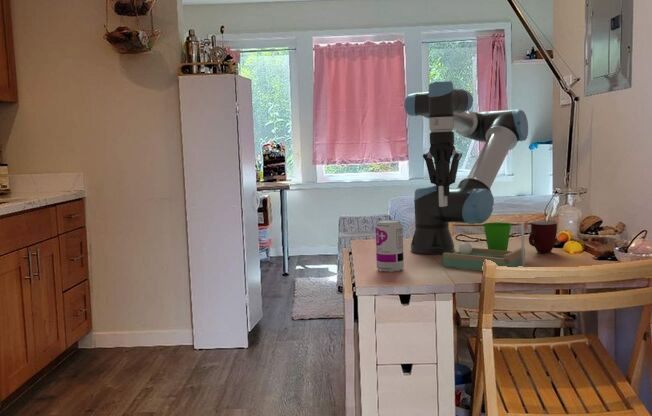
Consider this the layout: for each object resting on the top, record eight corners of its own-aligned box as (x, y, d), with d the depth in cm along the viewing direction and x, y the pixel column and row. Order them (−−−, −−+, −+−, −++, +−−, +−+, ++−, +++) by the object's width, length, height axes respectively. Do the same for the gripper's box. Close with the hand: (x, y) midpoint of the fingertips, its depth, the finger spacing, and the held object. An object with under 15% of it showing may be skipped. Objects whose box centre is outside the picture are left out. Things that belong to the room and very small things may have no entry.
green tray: (443, 266, 183) (442, 249, 183) (462, 259, 192) (461, 243, 191) (507, 273, 169) (507, 255, 169) (525, 266, 178) (524, 248, 178)
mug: (542, 256, 191) (542, 226, 189) (521, 253, 197) (521, 224, 196) (561, 252, 197) (561, 222, 196) (540, 249, 203) (540, 220, 202)
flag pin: (518, 270, 173) (518, 222, 172) (524, 267, 177) (523, 221, 175) (525, 270, 172) (524, 223, 171) (530, 268, 175) (530, 221, 174)
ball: (456, 255, 184) (456, 242, 184) (462, 253, 187) (462, 240, 187) (468, 256, 181) (468, 243, 181) (474, 254, 184) (474, 241, 184)
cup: (497, 261, 186) (496, 227, 185) (477, 257, 194) (476, 224, 193) (518, 258, 190) (518, 224, 189) (498, 254, 198) (497, 221, 197)
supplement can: (385, 273, 176) (383, 224, 175) (372, 268, 184) (370, 221, 182) (408, 270, 180) (407, 221, 178) (395, 265, 187) (393, 218, 185)
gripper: (417, 132, 187) (419, 206, 189) (454, 130, 178) (455, 208, 180) (429, 132, 192) (431, 204, 195) (466, 130, 184) (467, 205, 186)
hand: (443, 206), depth 188 cm, fingers closed
